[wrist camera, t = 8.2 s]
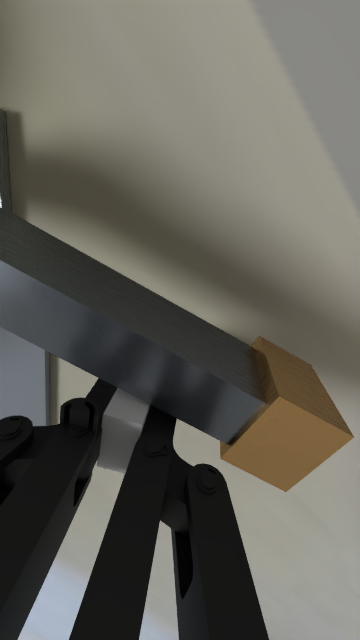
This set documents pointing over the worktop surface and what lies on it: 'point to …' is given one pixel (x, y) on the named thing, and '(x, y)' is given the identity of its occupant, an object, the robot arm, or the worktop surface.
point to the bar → (168, 356)
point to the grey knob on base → (4, 166)
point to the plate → (24, 379)
